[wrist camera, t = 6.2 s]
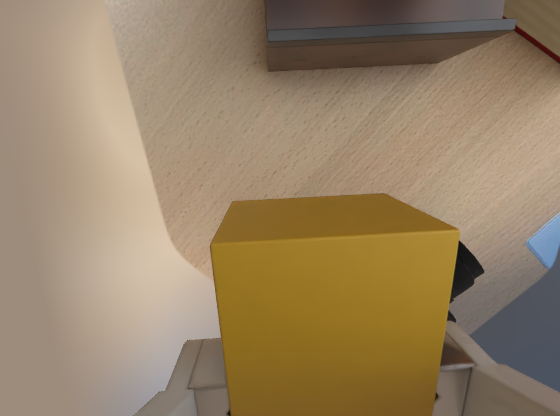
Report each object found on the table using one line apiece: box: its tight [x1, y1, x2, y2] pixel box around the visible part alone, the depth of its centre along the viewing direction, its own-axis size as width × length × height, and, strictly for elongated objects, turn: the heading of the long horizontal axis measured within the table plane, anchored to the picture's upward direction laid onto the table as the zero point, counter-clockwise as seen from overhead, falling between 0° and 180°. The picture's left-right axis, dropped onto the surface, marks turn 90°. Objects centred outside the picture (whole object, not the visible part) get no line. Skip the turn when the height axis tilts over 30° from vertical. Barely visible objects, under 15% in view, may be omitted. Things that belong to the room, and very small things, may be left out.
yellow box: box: [210, 193, 460, 416], centre depth 8 cm, size 5×9×4 cm, turn 2°
